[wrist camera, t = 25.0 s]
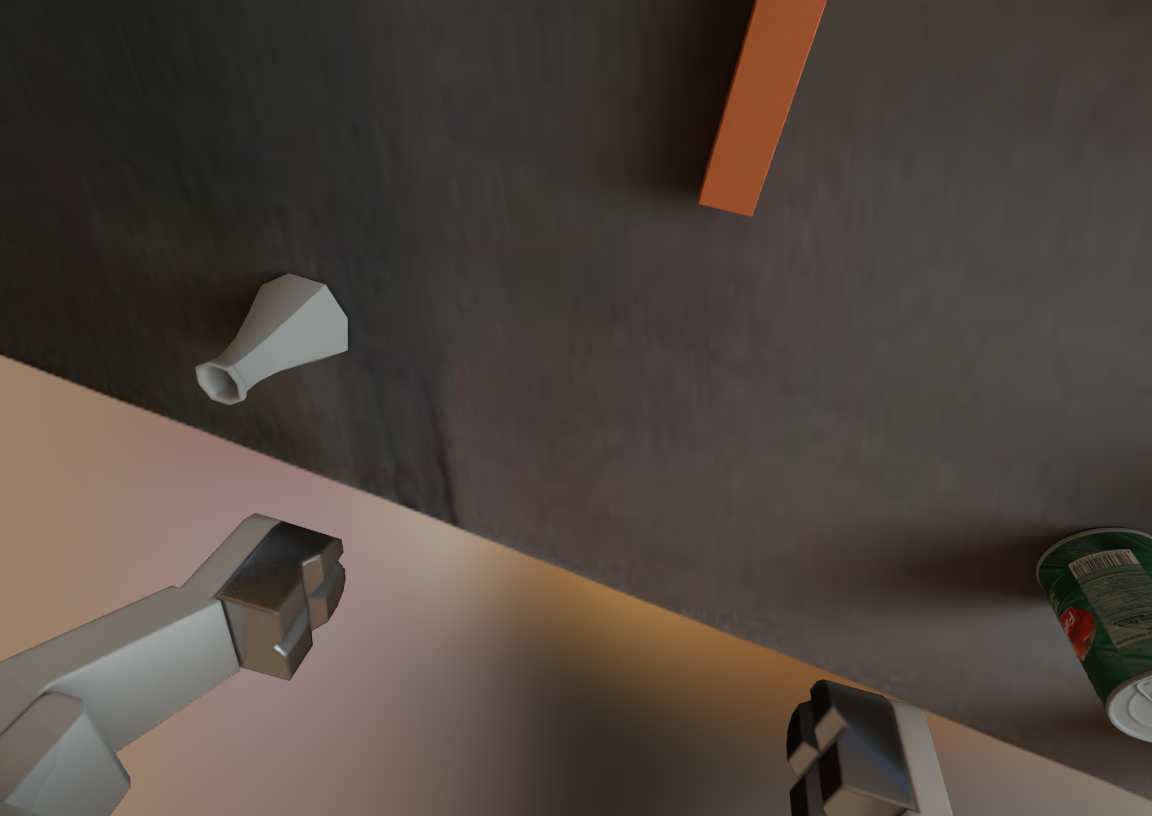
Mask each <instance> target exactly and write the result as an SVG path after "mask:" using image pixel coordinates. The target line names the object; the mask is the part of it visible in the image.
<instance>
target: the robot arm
mask: <svg viewBox="0 0 1152 816" xmlns="http://www.w3.org/2000/svg"><path fill="white" fill-rule="evenodd" d="M342 553H343V546H342V540H341V539H339V538H335V537H332V536H329V535H326V534H322V533H319V532H316V531H313V530H310V529H306V528H303V527H300V526H296V525H293V524H290V523H287V522H285V521H281V520H277V519H274V518H271V517H268V516H264V515H261V514H257V513H255V514H253V515H251V516H249V517H248V518H246V519H244V520H243V521H242V522H241V523H240V525H239V526H238V527H237V528H236V529H235V530H234V531H233V532H232V533H231V534H230V535H229V536H228V538H226V539H225V541H224V542H223V543H222V544H221V545H220V546H219V547H218V548H217V549H216V550H215V552H213V553H212V555H211V556H210V557H209V558H208V559H207V560H206V561H205V562H204V563H203V564H202V565H201V566H200V567H199V568H198V570H197V571H196V572H195V573H194V574H193V575H192V576H191V577H190V578H189V579H188V580H187V581H186V582H185V583H184V585H183V586H182V587H181V588H179V587H175V586H170V587H168V588H165V589H163V590H161V591H159V592H156V593H154V594H152V595H150V596H147V597H145V598H143V599H141V600H138V601H136V602H134V603H131V604H129V605H127V606H125V607H122V608H120V609H118V610H116V611H113V612H111V613H109V614H107V615H104V616H102V617H100V618H98V619H95V620H93V621H91V622H89V623H86V624H84V625H82V626H80V627H77V628H75V629H73V630H71V631H68V632H66V633H64V634H62V635H59V636H57V637H55V638H52V639H51V640H48V641H46V642H43V643H41V644H39V645H37V646H34V647H33V648H30V649H28V650H25V651H23V652H21V653H19V654H16V655H14V656H12V657H10V658H7V659H5V660H3V661H1V662H0V816H110V815H111V814H112V812H113V811H114V810H115V808H116V807H117V806H118V804H119V803H120V802H121V800H122V799H123V798H124V796H125V795H126V793H127V792H128V791H129V789H130V776H129V775H128V773H127V771H126V770H125V768H124V767H123V765H122V763H121V762H120V760H119V758H118V757H117V755H116V752H118V751H119V750H121V749H123V748H124V747H125V746H127V745H129V744H130V743H132V742H133V741H135V740H136V739H138V738H139V737H141V736H142V735H144V734H145V733H147V732H148V731H149V730H151V729H153V728H154V727H156V726H157V725H159V724H160V723H162V722H163V721H165V720H166V719H168V718H169V717H171V716H172V715H174V714H175V713H177V712H178V711H180V710H181V709H183V708H184V707H186V706H187V705H189V704H190V703H192V702H193V701H195V700H196V699H198V698H199V697H201V696H202V695H204V694H206V693H207V692H209V691H210V690H212V689H213V688H215V687H216V686H217V685H219V684H221V683H222V682H223V681H225V680H227V679H228V678H230V677H231V676H233V675H234V674H236V673H237V672H239V671H240V667H242V668H245V669H249V670H252V671H256V672H260V673H263V674H267V675H270V676H274V677H278V678H281V679H285V680H288V681H290V679H291V678H292V676H293V675H294V673H295V672H296V670H297V669H298V667H299V665H300V664H301V663H302V661H303V660H304V658H305V656H306V655H307V653H308V652H309V650H310V649H311V647H312V646H313V642H312V630H314V629H316V628H318V627H320V626H322V625H323V624H325V623H327V622H328V621H329V619H330V617H331V616H332V614H333V613H334V611H335V609H336V608H337V605H338V603H339V600H340V598H341V596H342V593H343V590H344V584H345V569H344V568H343V566H342V565H341V564H340V563H339V561H338V560H339V558H340V557H341V555H342ZM810 693H811V701H807V702H804V703H801V704H799V705H798V707H797V708H796V710H795V711H794V712H793V714H792V717H791V720H790V723H789V727H788V731H787V762H788V764H789V765H790V767H791V768H792V770H793V772H794V773H795V775H796V777H797V778H798V781H797V782H796V783H795V785H794V786H793V788H792V789H791V790H790V803H791V816H953V813H952V810H951V806H950V802H949V799H948V795H947V792H946V788H945V784H944V781H943V777H942V773H941V770H940V766H939V762H938V759H937V756H936V752H935V748H934V745H933V741H932V737H931V734H930V730H929V726H928V723H927V719H926V716H925V714H924V713H923V711H922V710H921V709H920V708H919V707H916V706H914V705H911V704H907V703H903V702H900V701H896V700H892V699H889V698H885V697H884V696H882V695H878V694H874V693H871V692H867V691H864V690H860V689H857V688H853V687H849V686H845V685H842V684H838V683H835V682H831V681H827V680H824V679H823V680H819V681H817V682H816V683H815V684H814V686H813V687H812V688H811V689H810Z"/></svg>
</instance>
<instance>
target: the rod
mask: <svg viewBox="0 0 1152 816" xmlns="http://www.w3.org/2000/svg"><path fill="white" fill-rule="evenodd" d="M826 2H827V0H755V1H754V5H753V8H752V12H751V15H750V19H749V22H748V26H747V29H746V33H745V36H744V40H743V43H742V46H741V50H740V53H739V57H738V60H737V64H736V67H735V71H734V74H733V78H732V81H731V85H730V88H729V92H728V95H727V99H726V102H725V105H724V109H723V112H722V116H721V119H720V123H719V126H718V130H717V133H716V137H715V140H714V144H713V147H712V151H711V154H710V158H709V161H708V164H707V168H706V171H705V175H704V178H703V182H702V185H701V189H700V195H699V201H698V204H700V205H704V206H708V207H712V208H716V209H721V210H725V211H729V212H733V213H737V214H741V215H746V216H750V217H752V215H753V212H754V209H755V206H756V203H757V200H758V198H759V195H760V192H761V189H762V186H763V183H764V180H765V177H766V175H767V172H768V169H769V166H770V163H771V160H772V157H773V154H774V151H775V149H776V146H777V143H778V140H779V137H780V134H781V131H782V128H783V126H784V123H785V120H786V117H787V114H788V111H789V108H790V105H791V102H792V100H793V97H794V94H795V91H796V88H797V85H798V82H799V79H800V77H801V74H802V71H803V68H804V65H805V62H806V59H807V56H808V53H809V51H810V48H811V45H812V42H813V39H814V36H815V33H816V30H817V28H818V25H819V22H820V19H821V16H822V13H823V10H824V7H825V4H826Z"/></svg>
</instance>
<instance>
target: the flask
mask: <svg viewBox="0 0 1152 816" xmlns="http://www.w3.org/2000/svg"><path fill="white" fill-rule="evenodd" d="M347 350H348V318H347V317H346V315H345V314H344V312H343V311H342V309H341V308H340V306H339V305H338V303H337V302H336V300H335V298H334V297H333V295H332V294H331V292H330V291H329V289H328V288H327V286H326V285H325V284H322V283H319V282H316V281H312V280H309V279H306V278H303V277H299V276H296V275H293V274H290V273H288V274H286V275H284V276H282V277H279V278H277V279H275V280H272V281H270V282H268V283H266V284H263V285H262V286H261V288H260V290H259V292H258V294H257V296H256V298H255V300H254V302H253V305H252V307H251V309H250V311H249V313H248V315H247V317H246V319H245V321H244V323H243V325H242V327H241V329H240V331H239V332H238V334H237V336H236V338H235V340H234V341H233V342H232V343H231V344H230V345H229V347H228V348H227V349H226V350H225V351H224V352H223V353H222V355H220V356H219V357H218V358H216V359H213V360H210V361H208V362H205V363H203V364H200V365H198V366H196V367H195V368H196V374H197V379H198V384H199V385H200V386H201V387H202V388H203V390H204V391H205V392H206V393H207V395H208V396H209V397H210V398H211V399H212V400H215V401H218V402H221V403H225V404H228V405H231V404H234V403H237V402H240V401H243V400H244V399H245V398H246V396H247V393H246V392H247V390H248V389H250V388H251V387H252V386H253V385H255V384H256V383H257V382H258V381H260V380H262V379H264V378H266V377H268V376H270V375H272V374H274V373H276V372H279V371H282V370H286V369H289V368H292V367H296V366H300V365H304V364H308V363H312V362H315V361H318V360H322V359H324V358H327V357H330V356H333V355H336V354H338V353H341V352H344V351H347Z"/></svg>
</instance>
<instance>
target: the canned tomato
mask: <svg viewBox="0 0 1152 816" xmlns="http://www.w3.org/2000/svg"><path fill="white" fill-rule="evenodd" d="M1036 577H1037V581H1038V582H1039V584H1040V586H1041V587H1042V589H1043V590H1044V592H1045V594H1046V597H1047V599H1048V601H1049V602H1050V604H1051V606H1052V609H1053V610H1054V612H1055V614H1056V616H1057V618H1058V620H1059V622H1060V623H1061V626H1062V628H1063V629H1064V631H1065V633H1066V635H1067V637H1068V639H1069V641H1070V643H1071V645H1072V647H1073V649H1074V651H1075V652H1076V654H1077V657H1078V658H1079V660H1080V662H1081V663H1082V666H1083V668H1084V670H1085V672H1086V673H1087V675H1088V678H1089V680H1090V681H1091V683H1092V685H1093V687H1094V690H1095V691H1096V693H1097V695H1098V696H1099V698H1100V700H1101V702H1102V703H1103V705H1104V707H1105V709H1106V714H1107V716H1108V718H1109V719H1110V721H1111V723H1112V724H1113V725H1114V726H1116V727H1117V728H1118V729H1119V730H1121V731H1122V732H1124V733H1126V734H1127V735H1129V736H1132V737H1135V738H1137V739H1140V740H1144V741H1148V742H1152V536H1151V535H1149V534H1146V533H1144V532H1141V531H1138V530H1133V529H1128V528H1115V527H1114V528H1099V529H1092V530H1087V531H1083V532H1080V533H1076V534H1073V535H1071V536H1069V537H1066V538H1064V539H1062V540H1060V541H1059V542H1057V543H1055V544H1054V545H1052V546H1051V547H1050V548H1049V549H1048V550H1046V551H1045V553H1044V554H1043V555H1042V556H1041V557H1040V559H1039V561H1038V563H1037V566H1036Z"/></svg>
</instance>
